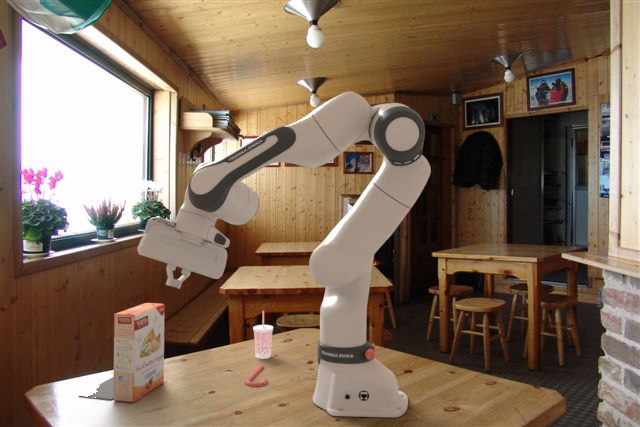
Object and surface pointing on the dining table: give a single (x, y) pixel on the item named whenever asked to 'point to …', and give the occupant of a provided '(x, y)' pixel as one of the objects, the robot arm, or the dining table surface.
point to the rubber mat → (105, 390)
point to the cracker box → (138, 351)
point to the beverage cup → (263, 340)
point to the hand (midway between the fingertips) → (172, 286)
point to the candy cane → (253, 375)
